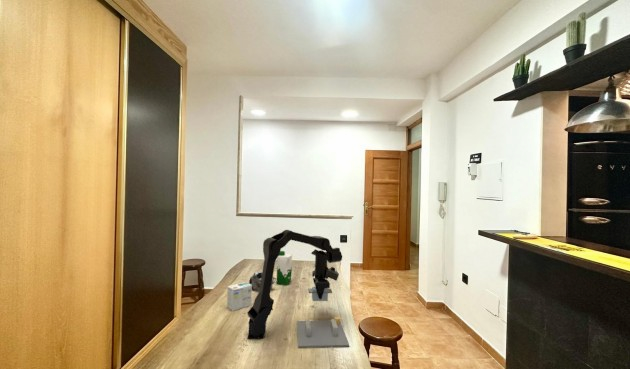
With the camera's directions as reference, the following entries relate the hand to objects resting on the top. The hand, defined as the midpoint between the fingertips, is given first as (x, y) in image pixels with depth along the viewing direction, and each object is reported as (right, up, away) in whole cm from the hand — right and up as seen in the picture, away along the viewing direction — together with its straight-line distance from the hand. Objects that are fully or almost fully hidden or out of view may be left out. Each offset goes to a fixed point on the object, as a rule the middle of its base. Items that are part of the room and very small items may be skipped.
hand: (319, 296), depth 132 cm
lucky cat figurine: (-34, -10, +37) cm, 51 cm away
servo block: (0, -1, 0) cm, 1 cm away
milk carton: (-22, -10, +47) cm, 53 cm away
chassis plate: (0, -10, -13) cm, 17 cm away
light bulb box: (-41, -10, +11) cm, 44 cm away
